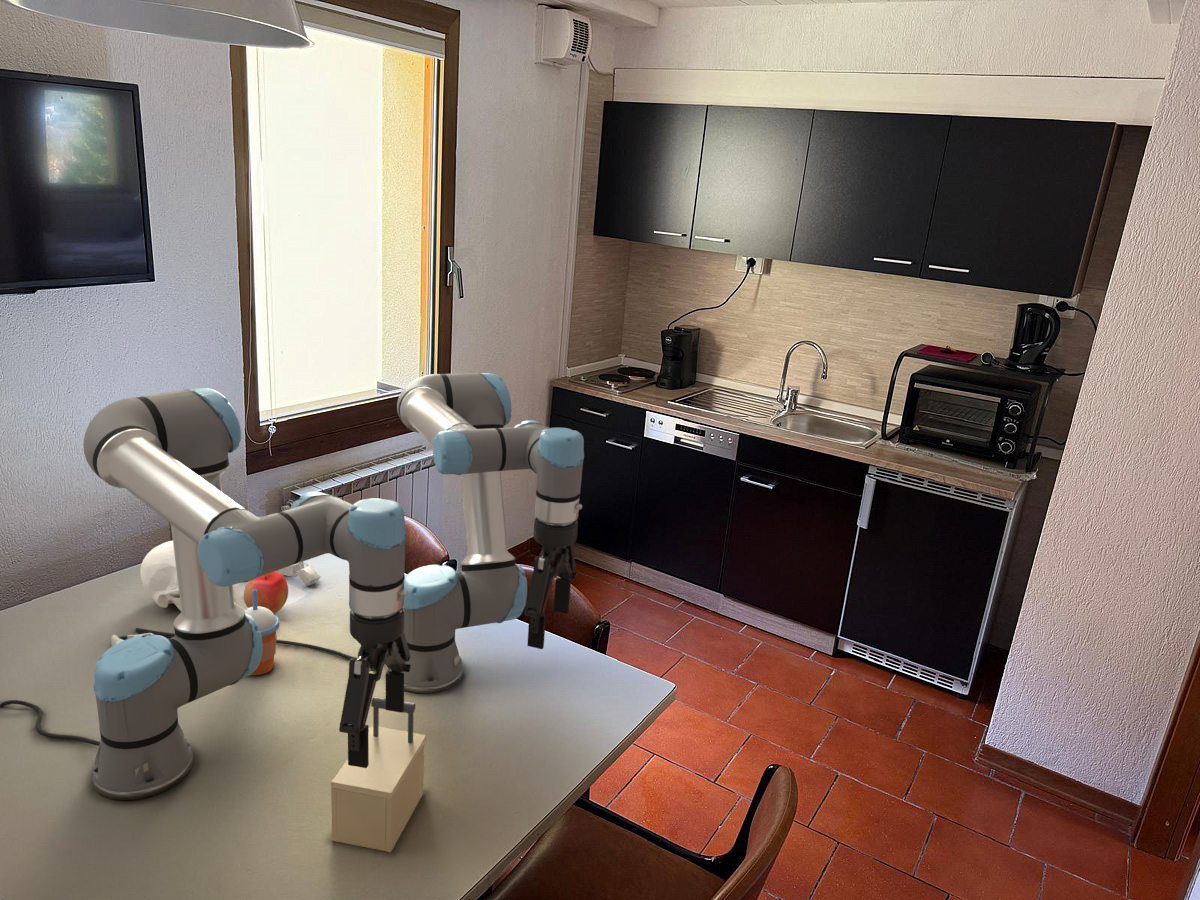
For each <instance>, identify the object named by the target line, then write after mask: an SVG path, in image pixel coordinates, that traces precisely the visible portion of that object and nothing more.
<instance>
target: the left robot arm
mask: <svg viewBox="0 0 1200 900" xmlns="http://www.w3.org/2000/svg"><path fill="white" fill-rule="evenodd" d="M241 441H242V428H241V425H240V421H239V417H238V415H237V413H236V410H235V409H234V407H233V406H232V404H231V403H230V401H229V400H228V399H227V397H226V396H224V395H223V394H222V393H220V392H219V391H217V390H215V389H213V388H210V387H202V388H185V389H184V388H183V389H177V390H173V391H167V392H166V391H165V392H159V393H155V394H148V395H143V396H142V395H141V396H136V397H134V396H133V397H127V398H121V399H119V400H116V401H113V402H111V403H109V404H108V405H105V406H104V407H103V408H102V409H100V410H99V411H98V412H96V414H95V415H94V417H92V419H91V420H90V421H89V423H88V425H87V428H86V430H85V432H84V436H83V442H82V443H83V454H84V457H85V461H86V462H87V465H88V466H89V467H90V469H91V470H92V472H93V473H94V474H95V475H97V477H99V478H100V479H101V480H102V481H103V482H105V483H106V484H108V486H111V487H114V488H117V489H126V490H127V491H128V492H129V493H130V494H132V495H133V496H134V497H136V498H137V499H138V500H139V501H141V503H144V505H146V506H147V507H148V508H149V509H151V510H152V511H154V512H155V513H156V514H157V515H159V516H160V517H161V518H162V519H164V520H165V521H166V522H168V523H169V524H170V530H171V538H172V540H173V546H174V554H175V562H176V570H177V578H178V586H179V594H180V602H181V610H182V612H181V611H180V613H179V614H178V615H177V616H176V617H175V618H174V620H173V630H174V633H175V636H174V637H169V638H167V637H166V636H161V635H147V636H145V637H142V636H136V637H133V638H129V639H127V640H124V641H122V642H120V643H118V644H116V645H114V646H111V647H109V648H108V649H107V650H105V652H104V653H102V655H101V656H100V657H99V659H98V661H97V662H96V664H95V666H94V673H93V674H94V683H93V692H94V695H95V701H96V708H97V709H96V710H97V716H98V717H97V718H98V724H99V725H98V727H99V733H100V741H98V740H97V739H92V738H88V737H83V736H78V735H72V734H71V735H70V734H58V733H52V732H47V731H45V730H43V729H42V727H41V723H42V719H43V710H42V708H41V707H39V706H38V705H36V704H34V703H31V702H28V701H26V700H19V699H10V700H5V701H2V702H1V703H0V708H3V707H5V706H7V705H21V706H24V707H28V708H30V709H32V710H34V711H35V712H36V713H37V718H36V721H35V730H36V732H37V733H38V734H39V735H41V736H43V737H46V738H49V739H57V740H68V741H69V740H71V741H72V740H73V741H77V742H82V743H85V744H86V743H87V744H90V745H94V746H97V747H98V749H97V752H96V754H95V759H94V762H93V765H92V771H91V779H92V785H93V788H94V789H95V791H96V792H97V793H98V794H99V795H101V796H103V797H105V798H108V799H112V800H116V801H117V800H119V801H133V800H141V799H145V798H149V797H153V796H156V795H158V794H160V793H163V792H165V791H167V790H169V789H171V788H173V787H174V786H176V785H177V784H179V783H180V782H181V781H182V780H183V779H185V778H186V776H187V775H188V774H189V772H190V771H191V769H192V767H193V763H194V757H193V756H194V755H193V749H192V746H191V744H190V742H189V741H188V739H187V738H186V737H185V734H184V731H183V729H182V727H181V725H180V723H179V717H178V716H179V715H178V709H179V708H180V707H183V706H184V705H187V704H189V703H192V702H194V701H196V700H199V699H201V698H203V697H206V696H208V695H211V694H212V693H215V692H217V691H220V690H222V689H224V688H226V687H228V686H233V685H236V684H238V683H239V682H240V681H242V680H243V679H245V678H247V677H249V676H252V675H251V674H252V673H253V672H254V671H255V670H256V669H257V667H258V666H259V664H260V661H261V658H262V651H263V644H262V637H261V633H260V631H258V629H257V628H258V625H257V623H256V622H255V620H254V619H253V618H252V617H251V616H250V615H248V614H246V613H245V611H244V610H245V609H244V608H243V607H242V606H241V605H239V604H237V603H236V602H235V594H234V585H238V584H241V583H248V582H249V581H251V580H254V579H255V578H258V577H261V576H263V575H266V574H269V573H272V572H274V571H277V570H280V569H283V568H285V567H288V566H291V565H294V564H297V563H300V562H303V563H304V562H305V561H308V560H311V559H315V558H317V557H320V556H324V555H325V554H330V555H332V556H335V557H336V558H338V559H341V560H343V561H346V562H348V570H349V572H348V573H349V574H348V578H349V579H348V606H349V609H350V610H349V634H350V636H351V637H352V638H353V639H354V640H356V641H357V642H358V643H359V644H360V647H359V649H358V653H357V658H359V659H351V660H349V663H348V677H347V682H346V683H347V684H346V688H345V695H344V700H343V705H342V711H341V717H340V722H339V728H338V731H339V733H344V734H347V759H348V765H350V766H356V767H362V768H367V767H368V765H369V747H368V730H369V725H368V724H367V721H368V718H369V717H368V716H369V712H370V709H371V702H372V699H373V697H374V692H375V688H376V685H377V682H379V681H380V680H381V678H382V675H383V672H384V671H383V670H384V667H386V668H387V669H388V670H387V671H386V672H385V698H386V709H385V711H390V712H394V713H395V712H396V713H401V714H403V711H404V702H405V690H404V673H403V672H409V671H410V669H411V665H410V664H406V663H405V662H409V660H410V652H409V649H408V645H407V641H406V638H405V634H404V611H405V610H404V607H403V605H404V596H406V595H407V590H405V589H404V579H405V576H406V575H405V574H406V573H405V570H406V568H405V567H406V538H407V530H406V520H405V519H406V518H405V510H404V508H403V506H402V505H401V504H399V502H397V501H395V500H392V499H382V498H381V497H375V498H374V497H373V498H372V497H371V498H365V499H361V500H358V501H356V502H354V503H353V504H352V503H350V502H348V501H346V500H343V499H341V498H340V497H338V496H336V495H333V494H331V495H330V494H328V493H323V492H320V491H309V492H305V493H302V495H300V497H298V499H297V500H295V501H293V502H292V504H291V505H290V508H288V509H286V510H282V511H278V512H274V513H271V514H267V515H264V516H257V515H255V514H253V513H252V512H251V511H249V510H247V509H246V508H245V507H243V506H242V505H240V504H239V503H237V502H236V501H235V500H233V499H232V498H231V497H229V495H227V494H225V493H224V492H223V483H222V476H223V475H224V473H226V471H227V470H228V469H229V467H230V459H229V454H232V453H233V452H235V451H236V450H237V449H238V448H239V447H240V443H241ZM390 670H391V671H390ZM370 672H372V673H370ZM373 672H374V673H373Z"/></svg>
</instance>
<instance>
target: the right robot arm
mask: <svg viewBox="0 0 1200 900" xmlns="http://www.w3.org/2000/svg"><path fill="white" fill-rule="evenodd" d="M508 389H509V388H508V386H507V384H506V382H505V381H504V379H503V378H502V377H501V376H499V375H498V374H496V373H488V372H481V371H480V372H466V373H465V372H463V373H461V372H460V373H431V374H426V375H422V376H419V377H417V378H416V379H414V380H412V381H410V382H409V383H408V384H407V385H406V386H404V388H403V389H402V390H401V392H400V394H399V396H398V398H397V402H396V412H397V415H398V417H399V419H400V421H401V423H402V424H403V425H404V426H405V427H406V428H407V429H408V430H410V431H412V432H414V433H417V434H420V435H422V436H423V437H424V438H425V439H426V440H427V441H428V442H429V444H431V445H432V457H433V462H434V465H435V469H436V471H438V472H439V474H441V475H456V476H460V481H461V493H462V504H463V505H462V507H463V516H464V517H463V518H464V530H465V539H466V540H465V541H466V542H465V543H466V556H465V558H464V559H463V560H462V561H461V563H460V567H461V571H459V572H457V571H456V569H455V568H453V567H451V566H449V565H446V564H443V565H440V564H428V565H424V566H420V567H417V568H415V569H413V570H411V571H410V572H408V573H406V575H405V579H404V589H405V590H407V595H406V596H404V605H403V607H404V610H405V611H404V634H405V638H406V641H407V645H408V649H409V652H410V660H409V662H405V663H406V664H410V665H411V669H410V671H409V672H403V673H404V691H407V692H410V693H416V694H430V693H431V694H432V693H438V692H441V691H445V690H447V689H450V688H451V687H453V686H455V685H456V684H457V683H458V682H459V681H460V680H461V679H462V676H463V672H464V664H463V660H462V657H461V656H460V653H459V649H458V646H457V642H456V630H459V629H465V628H471V627H478V626H479V627H480V626H483V625H491V624H501V623H504V622H508V621H513V620H516V619H518V618H519V617H520V616H521V615H522V614H524V616H527V617H528V627H527V628H528V629H527V644H526V645H527V647H529V648H533V649H539V650H543V649H544V647H545V636H546V635H545V634H546V619H547V612H546V613H545V611H546V607H547V604H548V600H549V595H550V592H551V589H552V585H553V582H554V579H555V582H554V583H555V584H554V599H553V612H557V613H562V614H565V615H568V613H569V611H570V598H571V586H572V585H571V584H572V580H573V581H575V580H576V578H577V573H575V572H576V570H577V567H576V560H575V551H574V544H575V543H576V542H577V539H578V530H579V521H578V519H579V512H580V510H582V509H583V505H582V503H580V499H581V490H582V489H581V488H582V479H583V467H584V460H585V451H584V450H585V448H584V447H585V444H584V443H585V440H584V439H585V438H584V436H583V435H582V433H581V432H580V431H578V430H573V429H571V428H567V427H549V426H546V424H544V423H542V422H539V421H536V420H532V419H528V420H527V419H526V420H523V421H521V422H519V423H517V424H516V425H515V426H513V427H512V426H511V427H505V426H507V425H509V424H510V422H511V420H512V412H513V408H512V407H513V406H512V400H511V395H510V391H509V390H508ZM521 470H531V471H532V472H533V473H535V474H536V489H535V500H534V501H535V502H534V517H535V518H534V520H533V521H534V522H533V539H534V540H535V541H536V543H538V544H540V545H541V547H542V549H541V550H540V551H539V556H535V557H534V560H533V570H532V575H531V578H530V579H531V580H530V585H529V590H528V580H527V579H528V578H527V576H526V571H525V569H524V568H523V566H522V565H519V564H516V557H515V556H514V555H513V554H512V553H510V551H508V544H507V532H506V531H507V530H506V520H505V509H504V498H503V497H504V496H503V495H504V494H503V486H502V485H503V484H502V474H501V472H506V471H507V472H508V471H521ZM134 630H135V632H137V633H141V634H145V633H152V634H154V635H160V636H163V637H169V638H172V637H174V636H175V632H174V633H173V632H166V631H157V630H152V629H146V628H141V627H136V628H135V629H134ZM276 644H279V645H287V646H294V647H300V648H306V649H310V650H314V651H319V652H323V653H328V654H331V655H335V656H337V657H340V658H344V659H345V660H349V661H350V660H351V659H359V658H358V657H355V656H351V655H349V654H346V653H343V652H340V651H338V650H334V649H330V648H327V647H321V646H319V645H313V644H310V643H309V644H308V643H303V642H298V641H291V640H290V641H289V640H284V639H283V640H282V639H276ZM389 671H391V670H390V669H389Z"/></svg>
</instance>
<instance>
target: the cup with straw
mask: <svg viewBox="0 0 1200 900" xmlns="http://www.w3.org/2000/svg"><path fill="white" fill-rule="evenodd" d="M252 599H253V607H250V608H248V607H247V608H245V609H244V611H245V613H246V614H248V615H250V616H251V617H252V618H253V619H254V620H255V622H256V623H257V625H258V628H257V629H258V631H260V633H261V637H262V644H263V651H262V658H261V661H260V664H259V666H258V667H257V669H256V670H255V671H254V672H253V673H252V674H251V675H250V676H260V675H265V674H267V673H269V672H270V671H272V670H273V668H274V664H275V655H276V651H277V649H276V648H277V643H276V640H278V639H277V636H278V634H277V630H279V628H280V623H281V622H280V619H279V617H278V616H277V615H276V614H273V613H272V612H271V611H270V610H269V609H267V608H265V607H261V606H257V590H256V589H253V590H252Z"/></svg>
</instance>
